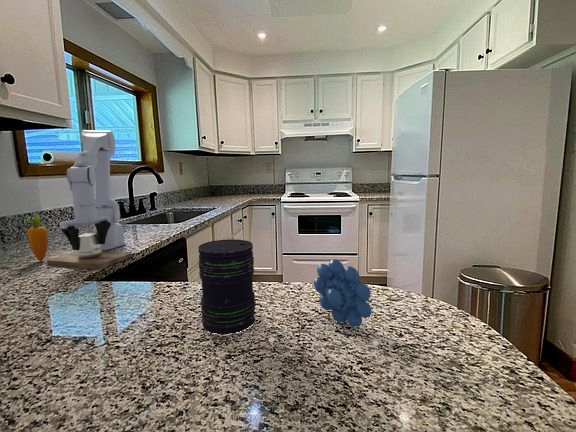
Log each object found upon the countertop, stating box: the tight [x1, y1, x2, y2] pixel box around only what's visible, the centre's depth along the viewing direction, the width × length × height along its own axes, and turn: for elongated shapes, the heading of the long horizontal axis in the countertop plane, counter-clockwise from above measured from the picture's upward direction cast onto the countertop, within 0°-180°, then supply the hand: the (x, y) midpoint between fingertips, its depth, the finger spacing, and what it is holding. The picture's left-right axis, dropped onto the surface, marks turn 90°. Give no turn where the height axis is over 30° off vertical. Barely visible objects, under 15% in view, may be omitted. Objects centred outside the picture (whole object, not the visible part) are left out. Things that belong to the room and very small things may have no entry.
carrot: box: [25, 215, 49, 262], centre depth 96 cm, size 5×5×15 cm
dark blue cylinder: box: [198, 238, 256, 334], centre depth 55 cm, size 10×10×15 cm
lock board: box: [46, 250, 133, 270], centre depth 97 cm, size 13×20×2 cm, turn 75°
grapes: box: [313, 258, 373, 327], centre depth 54 cm, size 12×7×12 cm, turn 53°
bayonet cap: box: [77, 231, 103, 258], centre depth 96 cm, size 6×7×7 cm
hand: (89, 246), depth 97 cm, fingers open, 7 cm apart
